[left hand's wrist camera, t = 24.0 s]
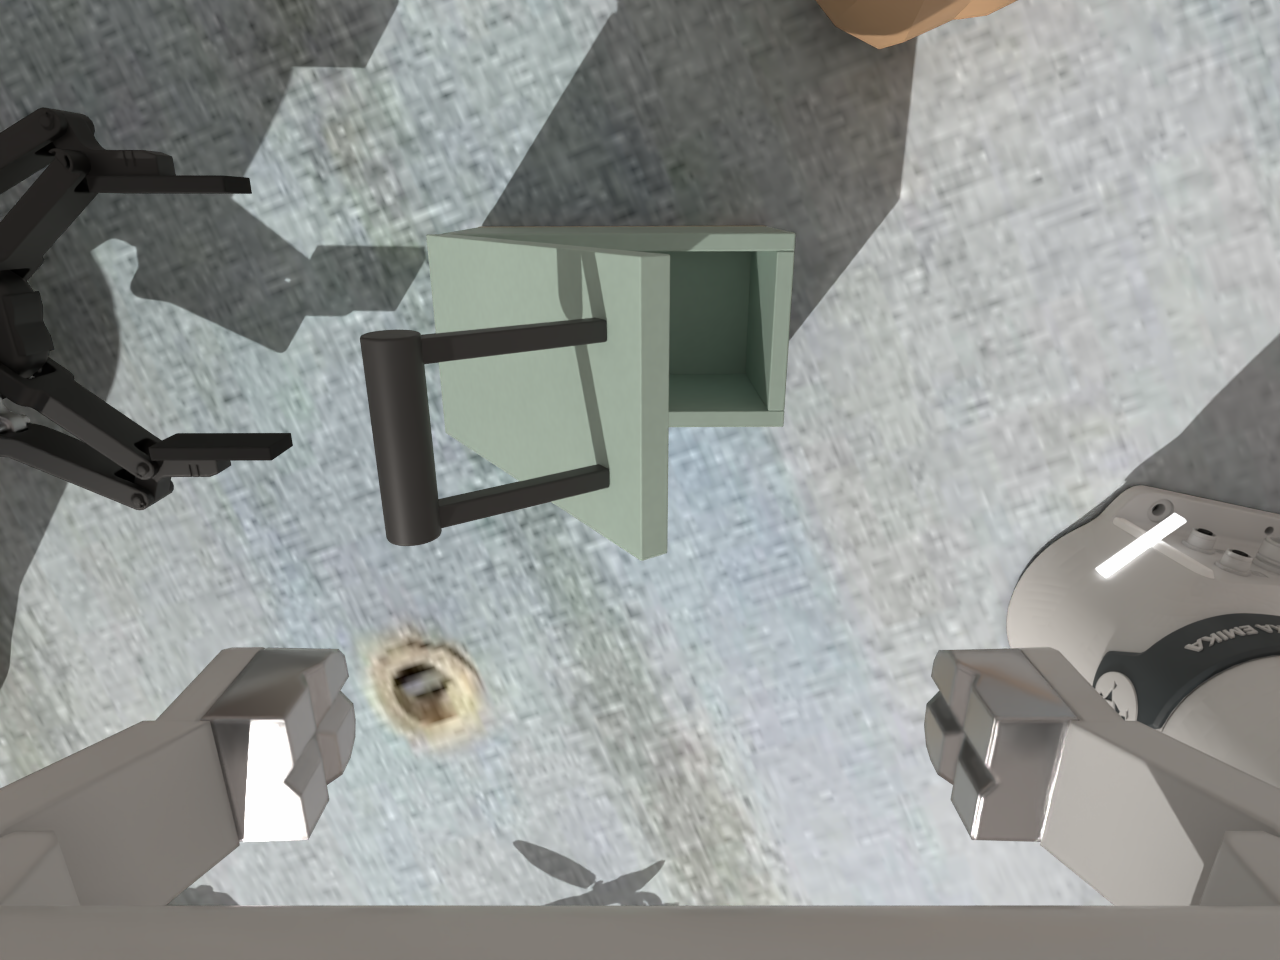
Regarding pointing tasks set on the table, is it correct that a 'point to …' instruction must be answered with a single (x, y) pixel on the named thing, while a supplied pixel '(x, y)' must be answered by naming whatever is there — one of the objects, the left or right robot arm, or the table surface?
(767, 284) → the chest
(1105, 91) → the table surface
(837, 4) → the squash
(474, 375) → the lid
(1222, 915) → the left robot arm
